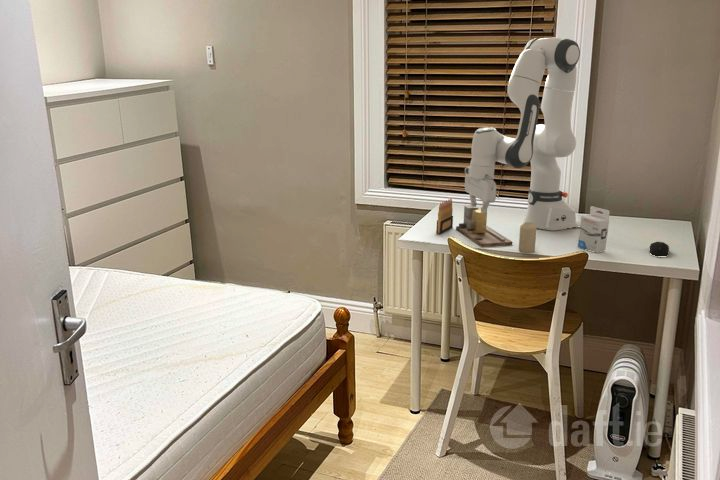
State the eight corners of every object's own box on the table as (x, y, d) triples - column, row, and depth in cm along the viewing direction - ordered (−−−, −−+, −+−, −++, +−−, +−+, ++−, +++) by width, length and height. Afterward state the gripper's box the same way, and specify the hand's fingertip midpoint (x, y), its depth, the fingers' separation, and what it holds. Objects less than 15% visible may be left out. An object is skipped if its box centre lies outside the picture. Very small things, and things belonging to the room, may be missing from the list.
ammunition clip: (440, 234, 259) (441, 203, 256) (436, 233, 260) (437, 202, 256) (452, 228, 268) (454, 198, 264) (448, 227, 269) (449, 197, 265)
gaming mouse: (648, 259, 233) (650, 248, 232) (649, 248, 246) (650, 237, 245) (668, 262, 230) (670, 250, 229) (668, 250, 244) (670, 239, 242)
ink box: (576, 247, 244) (581, 207, 240) (586, 245, 247) (590, 205, 243) (596, 253, 237) (601, 212, 233) (605, 251, 240) (610, 210, 236)
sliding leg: (481, 229, 260) (482, 209, 257) (485, 232, 256) (487, 212, 254) (465, 230, 258) (466, 210, 256) (469, 233, 254) (470, 212, 252)
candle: (524, 253, 237) (527, 225, 234) (515, 249, 242) (517, 221, 239) (537, 251, 239) (540, 223, 236) (528, 247, 244) (530, 220, 241)
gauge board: (484, 227, 269) (486, 204, 266) (512, 244, 246) (514, 220, 244) (455, 229, 266) (457, 206, 263) (481, 247, 244) (482, 222, 241)
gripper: (502, 177, 242) (498, 215, 246) (478, 167, 261) (475, 203, 265) (485, 178, 240) (482, 216, 244) (463, 167, 259) (460, 203, 263)
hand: (478, 209), depth 254 cm, fingers open, 8 cm apart
